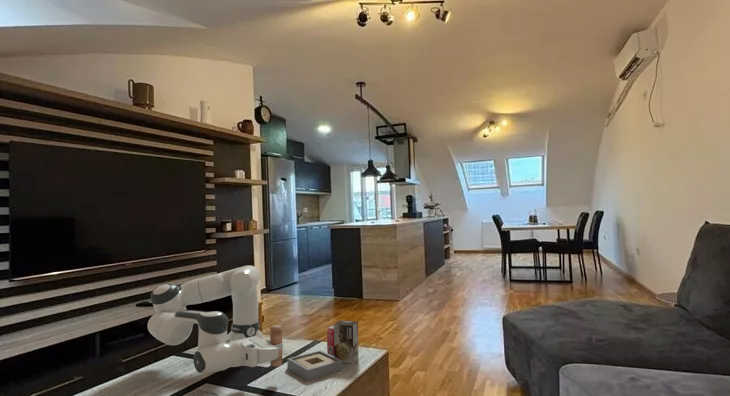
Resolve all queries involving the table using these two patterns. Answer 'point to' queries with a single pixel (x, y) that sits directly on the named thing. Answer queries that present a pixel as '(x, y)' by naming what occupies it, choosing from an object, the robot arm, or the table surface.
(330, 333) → the soda can
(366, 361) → the table surface
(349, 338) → the coffee box
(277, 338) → the peg
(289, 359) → the peg box
